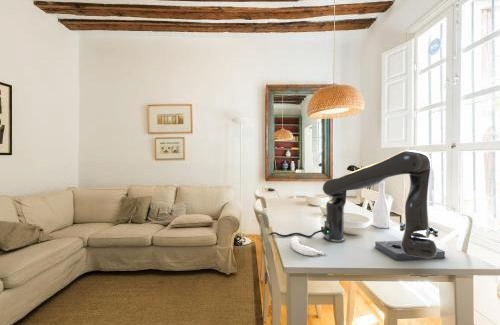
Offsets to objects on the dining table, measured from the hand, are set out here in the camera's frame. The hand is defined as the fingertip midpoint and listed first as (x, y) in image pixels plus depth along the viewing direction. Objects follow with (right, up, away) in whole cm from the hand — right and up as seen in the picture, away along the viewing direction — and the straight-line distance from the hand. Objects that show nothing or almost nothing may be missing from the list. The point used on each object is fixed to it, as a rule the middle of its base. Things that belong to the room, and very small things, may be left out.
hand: (418, 225), depth 109 cm
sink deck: (-6, -12, -2) cm, 14 cm away
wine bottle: (+4, -12, +39) cm, 41 cm away
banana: (-55, -12, +2) cm, 56 cm away
